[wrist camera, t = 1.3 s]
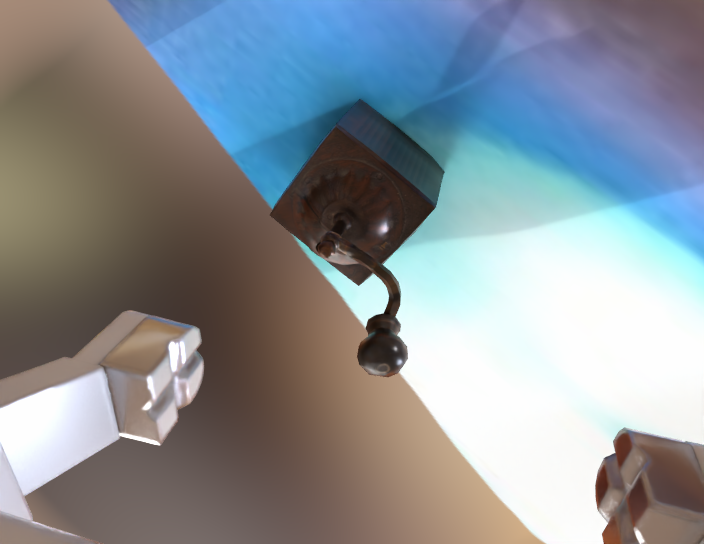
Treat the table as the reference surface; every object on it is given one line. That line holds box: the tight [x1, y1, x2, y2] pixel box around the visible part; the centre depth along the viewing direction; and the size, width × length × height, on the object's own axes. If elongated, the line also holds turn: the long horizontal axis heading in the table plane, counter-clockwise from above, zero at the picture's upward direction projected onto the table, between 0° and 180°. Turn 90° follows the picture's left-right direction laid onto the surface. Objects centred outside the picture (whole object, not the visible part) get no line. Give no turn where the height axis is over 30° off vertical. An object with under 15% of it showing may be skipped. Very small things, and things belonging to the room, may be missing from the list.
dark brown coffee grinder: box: [270, 99, 444, 377], centre depth 42 cm, size 16×11×18 cm
